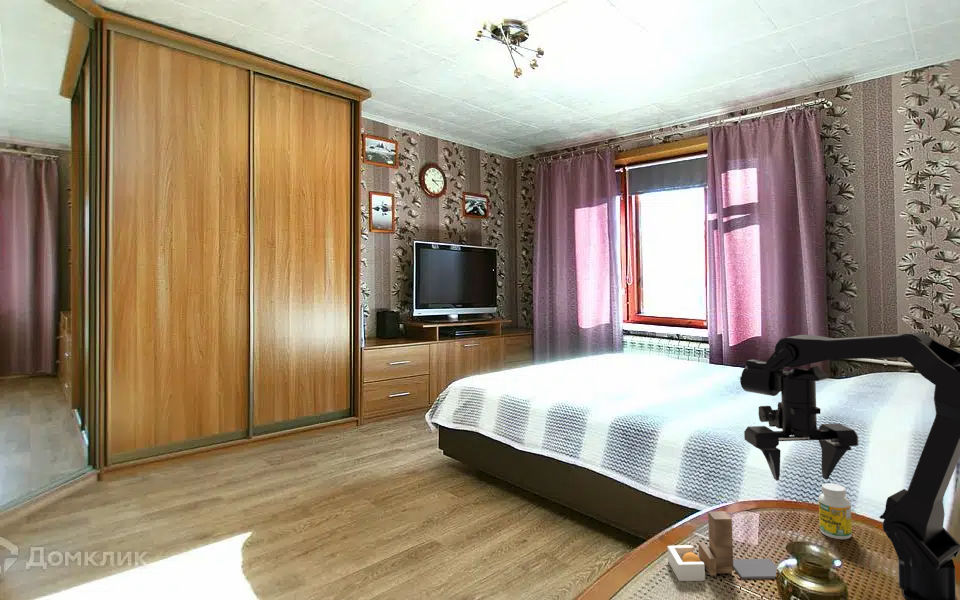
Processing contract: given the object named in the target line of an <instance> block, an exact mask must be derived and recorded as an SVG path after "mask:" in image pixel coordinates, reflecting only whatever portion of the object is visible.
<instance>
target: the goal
mask: <svg viewBox="0 0 960 600" xmlns="http://www.w3.org/2000/svg"><path fill="white" fill-rule="evenodd" d="M688 552H692V553H694V546H693V545H692V544H691V545H690V544H689V545H688V544H687V545H682V544H681V545H667V562H668V564H669V566H670V567H671V569H672V570H673V571H672V572H673V573H674V574H675V576H676V578H677V580H678V582H697V581H698V582H704V581H706V571H705V569H706V568H705V565H704V563H703V562H682V558H683V556H684V554H686V553H688Z"/></svg>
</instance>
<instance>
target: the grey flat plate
mask: <svg viewBox="0 0 960 600" xmlns="http://www.w3.org/2000/svg"><path fill="white" fill-rule="evenodd" d="M777 567H778V566H777V565H776V563H774V562H773V561H772V560H771V558H736V559H735V558H733V570H735V572H736V573H737V575H739V577H740V578H741V579H742V580H744V579H745V580H749V579H753V580H755V579H757V580H761V579H776V578H775V577H776V568H777Z"/></svg>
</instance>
